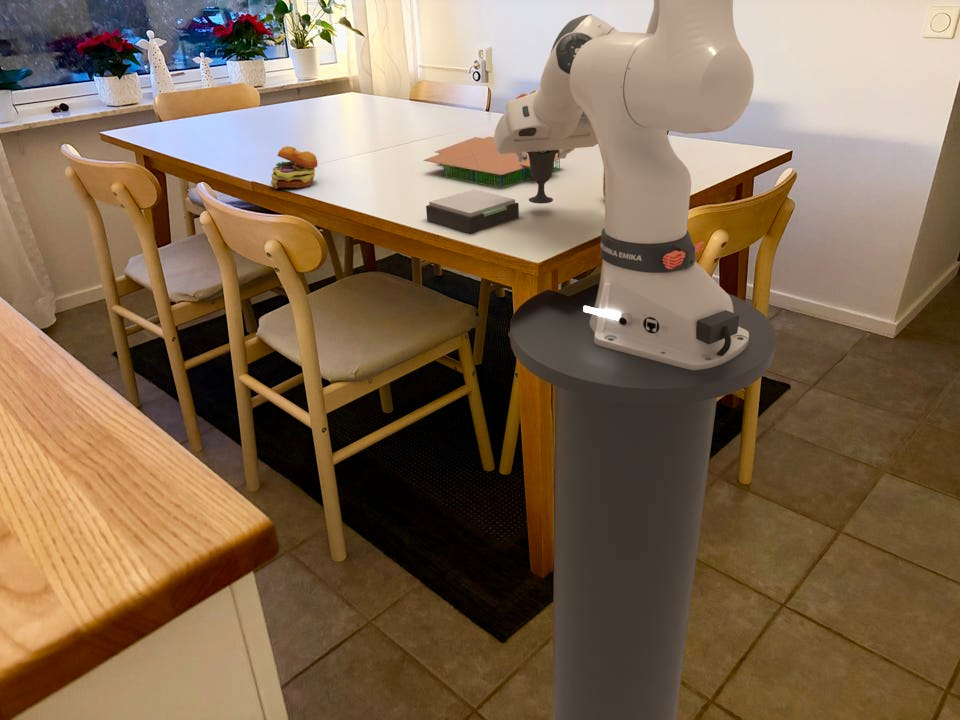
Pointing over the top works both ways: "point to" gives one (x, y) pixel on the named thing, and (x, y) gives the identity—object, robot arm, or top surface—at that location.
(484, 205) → the scale
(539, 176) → the sundae
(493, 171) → the house
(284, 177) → the cheeseburger
